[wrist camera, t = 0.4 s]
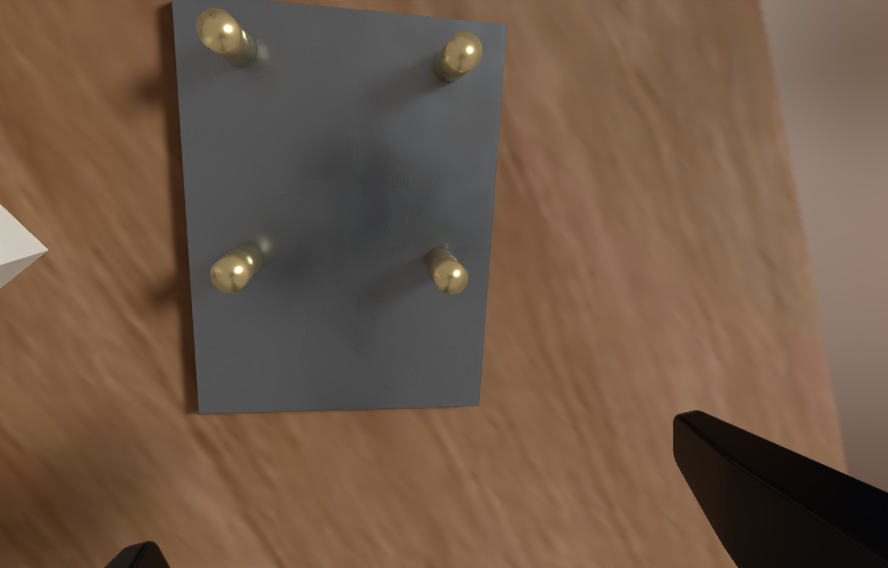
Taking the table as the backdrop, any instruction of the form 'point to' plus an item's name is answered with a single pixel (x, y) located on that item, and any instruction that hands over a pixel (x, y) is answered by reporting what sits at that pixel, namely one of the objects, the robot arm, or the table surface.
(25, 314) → the table surface
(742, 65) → the table surface
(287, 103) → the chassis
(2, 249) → the block
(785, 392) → the table surface
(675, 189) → the table surface
